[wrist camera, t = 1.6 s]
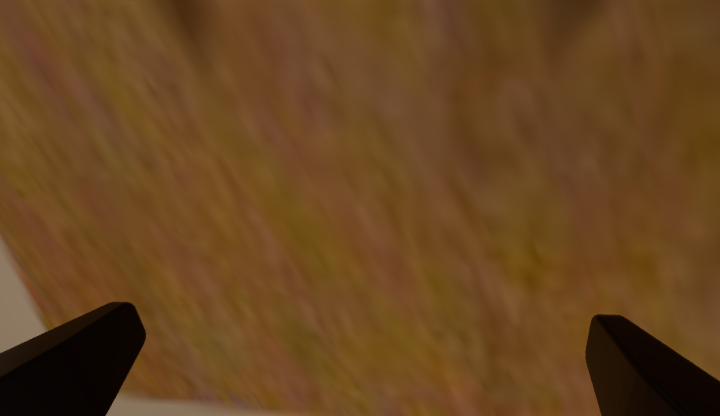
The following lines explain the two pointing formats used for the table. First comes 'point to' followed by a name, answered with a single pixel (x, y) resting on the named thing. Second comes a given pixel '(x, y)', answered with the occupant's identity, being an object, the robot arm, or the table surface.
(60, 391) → the robot arm
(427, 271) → the table surface
